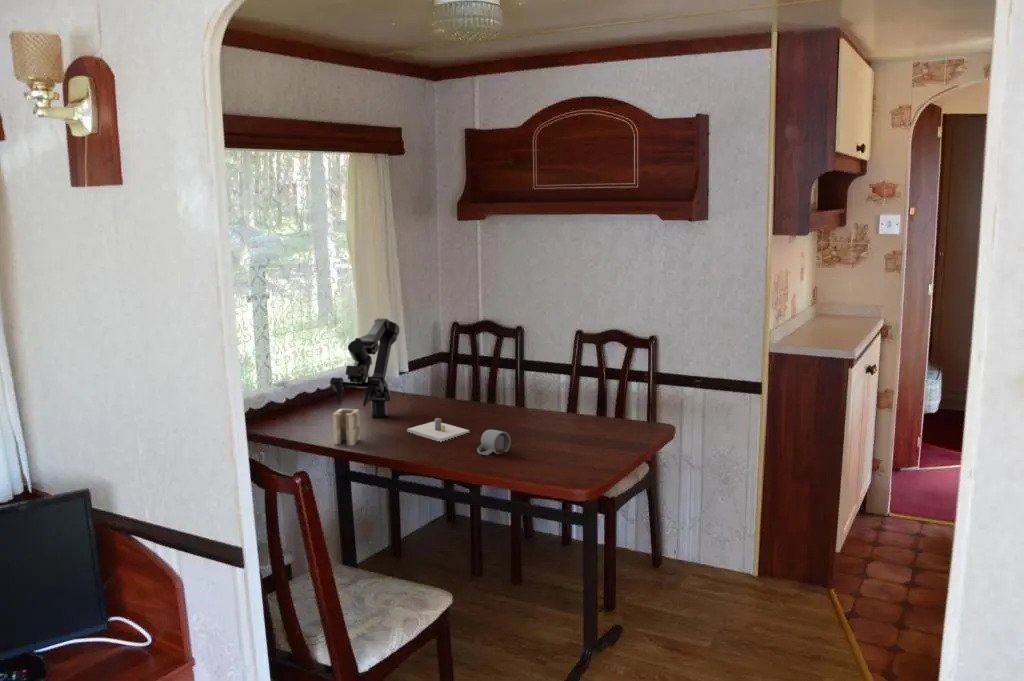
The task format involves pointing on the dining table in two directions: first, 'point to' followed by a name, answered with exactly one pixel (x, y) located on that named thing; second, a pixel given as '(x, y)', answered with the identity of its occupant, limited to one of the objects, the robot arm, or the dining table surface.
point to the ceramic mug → (494, 442)
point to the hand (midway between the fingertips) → (351, 405)
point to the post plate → (437, 430)
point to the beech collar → (346, 426)
